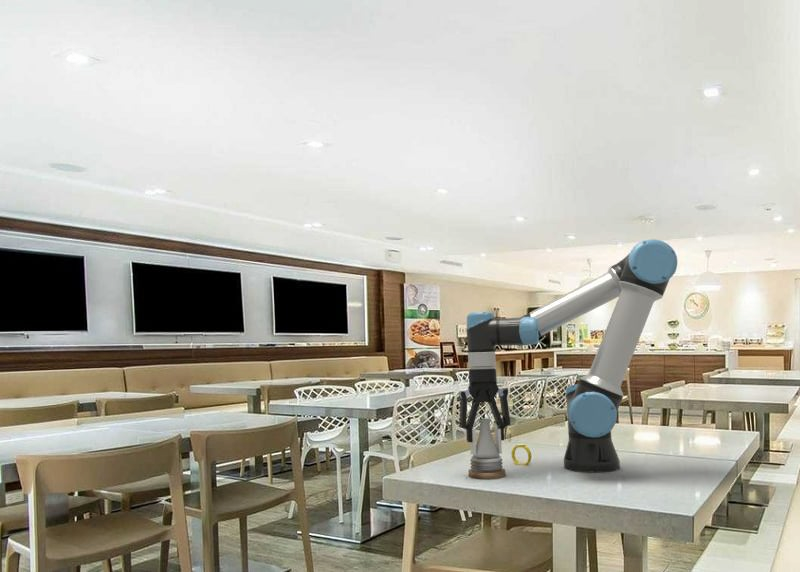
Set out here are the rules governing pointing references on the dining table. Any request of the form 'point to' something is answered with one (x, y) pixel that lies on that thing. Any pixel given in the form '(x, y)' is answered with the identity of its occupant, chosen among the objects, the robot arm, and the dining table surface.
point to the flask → (485, 441)
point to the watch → (527, 452)
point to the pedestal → (486, 468)
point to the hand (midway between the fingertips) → (486, 453)
